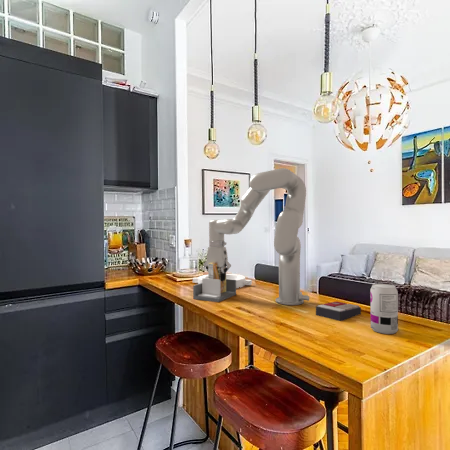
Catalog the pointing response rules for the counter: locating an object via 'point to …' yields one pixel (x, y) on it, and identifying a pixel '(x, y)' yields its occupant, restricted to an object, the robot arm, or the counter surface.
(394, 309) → the supplement can
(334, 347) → the counter surface
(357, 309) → the dark grey flat box
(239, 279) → the ring with crossbar
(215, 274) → the candy box
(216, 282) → the shelf
